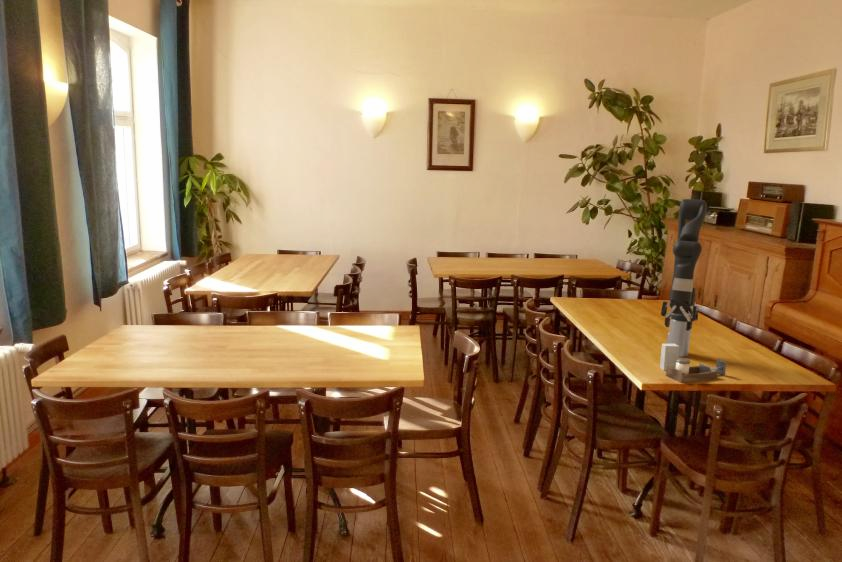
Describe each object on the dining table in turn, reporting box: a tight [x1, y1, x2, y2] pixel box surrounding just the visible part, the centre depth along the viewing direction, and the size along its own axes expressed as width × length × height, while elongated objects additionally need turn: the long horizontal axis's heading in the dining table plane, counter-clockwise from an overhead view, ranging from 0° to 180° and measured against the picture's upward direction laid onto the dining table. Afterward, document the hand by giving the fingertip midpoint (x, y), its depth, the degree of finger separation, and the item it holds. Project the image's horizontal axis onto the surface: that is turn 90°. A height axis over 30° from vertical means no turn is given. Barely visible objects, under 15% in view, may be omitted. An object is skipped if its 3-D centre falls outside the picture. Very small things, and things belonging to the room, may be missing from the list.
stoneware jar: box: [676, 357, 691, 375], centre depth 247 cm, size 5×5×8 cm
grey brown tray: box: [665, 365, 719, 384], centre depth 249 cm, size 9×19×5 cm, turn 110°
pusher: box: [698, 359, 727, 377], centre depth 253 cm, size 6×10×6 cm, turn 110°
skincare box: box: [659, 343, 679, 372], centre depth 258 cm, size 6×4×12 cm
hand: (677, 328), depth 241 cm, fingers open, 8 cm apart
